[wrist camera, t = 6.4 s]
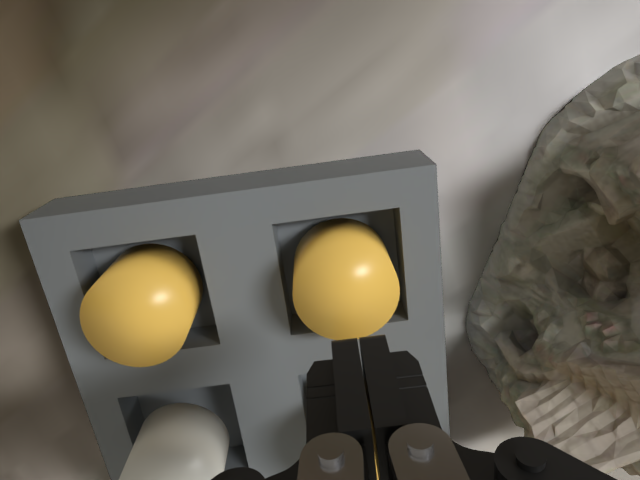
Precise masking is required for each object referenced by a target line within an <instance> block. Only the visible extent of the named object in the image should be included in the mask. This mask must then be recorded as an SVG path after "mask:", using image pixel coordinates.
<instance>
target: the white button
mask: <svg viewBox="0 0 640 480" xmlns="http://www.w3.org/2000/svg"><path fill="white" fill-rule="evenodd" d="M228 448H229V433H228V430H227V428H226V426H225V424H224V423H223V421H222V420H221V419H220V418H219V417H218V416H217V415H216V414H215V413H213V412H212V411H210V410H208V409H206V408H204V407H202V406H199V405H195V404H190V403H173V404H168V405H165V406H162V407H160V408H158V409H156V410H155V411H153V412H152V413H151V414H150V415H149V416H148V417H147V418H146V419H145V421H144V422H143V424H142V427H141V429H140V431H139V434H138V436H137V438H136V441H135V443H134V445H133V448H132V450H131V452H130V455H129V457H128V459H127V462H126V464H125V466H124V469H123V471H122V473H121V475H120V478H119V480H211V479H213V478H214V477H215V476H216V475H218V474H219V473H221V472H223V471H224V469H225V464H226V459H227V453H228Z"/></svg>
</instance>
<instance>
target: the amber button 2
mask: <svg viewBox="0 0 640 480" xmlns="http://www.w3.org/2000/svg"><path fill="white" fill-rule="evenodd" d="M292 295H293V303H294V307H295V310H296V312H297V314H298V316H299V318H300V319H301V320H302V322H303V323H304V324H305V325H306V326H307V327H308V328H309V329H311V330H312V331H313V332H315V333H317V334H318V335H320V336H323V337H325V338H329V339H333V340H342V339H351V338H357V339H359V337H366V336H369V335H371V334H373V333H374V332H376V331H378V330H379V329H380V328H382V327H383V326H384V325H385V324H386V323H387V322H388V321H389V319H390V318H391V317H392V315H393V314H394V312H395V310H396V307H397V305H398V301H399V295H400V286H399V280H398V277H397V274H396V271H395V269H394V267H393V264H392V262H391V259H390V257H389V255H388V252H387V250H386V247H385V245H384V243H383V241H382V239H381V238H380V236H379V235H378V234H377V233H376V232H375V231H374V230H373V229H372V228H371V227H369V226H368V225H366V224H365V223H362V222H360V221H357V220H354V219H349V218H335V219H330V220H326V221H323V222H321V223H319V224H317V225H316V226H314V227H312V228H311V229H310V230H309V231H308V232H307V233H306V234H305V235H304V236H303V237H302V239H301V240H300V242H299V244H298V246H297V248H296V251H295V256H294V272H293V294H292Z"/></svg>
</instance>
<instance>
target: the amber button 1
mask: <svg viewBox="0 0 640 480" xmlns="http://www.w3.org/2000/svg"><path fill="white" fill-rule="evenodd" d="M202 295H203V284H202V279H201V276H200V274H199V272H198V270H197V268H196V266H195V265H194V264H193V263H192V261H191V260H190V259H189V258H188V257H187V256H185V255H184V254H183V253H181V252H180V251H178V250H176V249H174V248H172V247H169V246H166V245H161V244H152V243H150V244H141V245H137V246H134V247H132V248H130V249H128V250H126V251H125V252H123V253H122V254H121V255H120V256H119V257H118V258H117V259H116V260H115V261H114V262H113V263H112V264H111V265H110V267H109V268H108V269H107V270H106V271H105V272H104V273H103V274H102V276H101V277H100V278H99V279H98V280H97V281H96V282H95V283H94V284H93V286H92V287H91V288H90V289H89V290H88V292H87V293H86V294H85V296H84V298H83V300H82V303H81V307H80V324H81V327H82V330H83V333H84V335H85V337H86V338H87V340H88V341H89V343H90V344H91V345H92V346H93V348H94V349H95V350H96V351H98V352H99V353H100V354H101V355H103V356H104V357H106V358H107V359H109V360H111V361H113V362H116V363H118V364H122V365H125V366H131V367H149V366H154V365H157V364H160V363H163V362H165V361H167V360H168V359H170V358H171V357H173V356H174V355H175V354H176V353H177V352H178V351H179V350H180V349H181V347H182V346H183V344H184V342H185V340H186V337H187V335H188V332H189V330H190V328H191V325H192V323H193V320H194V318H195V315H196V313H197V310H198V308H199V305H200V303H201V300H202Z"/></svg>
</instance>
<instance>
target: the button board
mask: <svg viewBox="0 0 640 480" xmlns="http://www.w3.org/2000/svg"><path fill="white" fill-rule="evenodd" d="M335 218H349V219H354V220H357V221H360V222H362V223H365V224H366V225H368V226H369V227H371V228H372V229H373V230H374V231H375V232H376V233H377V234H378V235H379V236H380V238H381V239H382V241H383V243H384V245H385V247H386V250H387V252H388V255H389V257H390V259H391V262H392V264H393V267H394V269H395V271H396V274H397V277H398V280H399V286H400V295H399V301H398V305H397V307H396V310H395V312H394V314H393V315H392V317H391V318H390V319H389V321H388V322H387V323H386V324H385V325H384V326H383V327H382V328H380V329H379V330H378V331H376V332H374V333H373V334H371V335H369V336H375V335H384V334H385V336H386V339H387V343H388V347H389V351H390V352H397V351H406V350H407V351H408V352H409V353H410V354H411V355H413V356H414V357H415V358H416V359H417V360H418V361H419V364H420V367H421V370H422V373H423V376H424V379H425V382H426V385H427V387H428V390H429V393H430V396H431V399H432V402H433V405H434V408H435V411H436V414H437V417H438V420H439V422H440V425H441V428H442V430H443V431H445V432H446V433H447V434H448V435H449V437H450V428H449V408H448V388H447V368H446V348H445V328H444V308H443V288H442V268H441V248H440V228H439V208H438V188H437V168H436V164H435V163H434V162H433V161H432V160H431V159H430V158H428V157H427V156H426V155H425V154H424V153H423V152H422V151H420V150H413V151H406V152H398V153H391V154H383V155H376V156H368V157H361V158H354V159H346V160H339V161H331V162H324V163H317V164H309V165H302V166H294V167H287V168H279V169H272V170H265V171H257V172H250V173H242V174H235V175H228V176H220V177H213V178H205V179H198V180H190V181H183V182H176V183H168V184H161V185H153V186H146V187H139V188H131V189H124V190H116V191H109V192H101V193H94V194H87V195H79V196H72V197H64V198H57V199H53V200H52V201H50V202H48V203H47V204H45V205H43V206H42V207H40V208H38V209H37V210H35V211H33V212H32V213H30V214H28V215H27V216H25V217H23V218H22V219H20V220H19V222H20V225H21V228H22V231H23V234H24V237H25V239H26V242H27V245H28V248H29V251H30V253H31V256H32V259H33V262H34V265H35V267H36V270H37V273H38V276H39V279H40V282H41V284H42V287H43V290H44V293H45V296H46V298H47V301H48V304H49V307H50V310H51V313H52V315H53V318H54V321H55V324H56V327H57V329H58V332H59V335H60V338H61V341H62V343H63V346H64V349H65V352H66V355H67V358H68V360H69V363H70V366H71V369H72V372H73V374H74V377H75V380H76V383H77V386H78V388H79V391H80V394H81V397H82V400H83V403H84V405H85V408H86V411H87V414H88V417H89V419H90V422H91V425H92V428H93V431H94V433H95V436H96V439H97V442H98V445H99V448H100V450H101V453H102V456H103V459H104V462H105V464H106V467H107V470H108V473H109V476H110V479H111V480H119V478H120V475H121V473H122V471H123V469H124V466H125V464H126V462H127V459H128V457H129V455H130V452H131V450H132V448H133V445H134V443H135V441H136V438H137V436H138V434H139V431H140V429H141V427H142V424H143V422H144V421H145V419H146V418H147V417H148V416H149V415H150V414H151V413H152V412H153V411H155V410H156V409H158V408H160V407H162V406H165V405H168V404H173V403H190V404H195V405H199V406H202V407H204V408H206V409H208V410H210V411H212V412H213V413H215V414H216V415H217V416H218V417H219V418H220V419H221V420H222V421H223V423H224V424H225V426H226V428H227V430H228V433H229V448H228V453H227V459H226V464H225V469H224V471H225V470H228V469H231V468H236V467H248V468H252V469H255V470H257V471H258V472H260V473H261V474H262V475H263V476H264V478H267V477H270V476H272V475H275V474H277V473H280V472H282V471H284V470H286V469H288V468H289V467H291V466H292V465H293V464H295V463H296V462H297V461H298V460H299V458H300V454H301V451H302V449H303V448H304V446H305V445H306V401H307V398H306V392H307V372H308V371H309V369H310V367H311V366H312V364H313V362H314V361H321V360H330V359H332V346H331V341H334V340H333V339H329V338H325V337H323V336H320V335H318V334H317V333H315V332H313V331H312V330H311V329H309V328H308V327H307V326H306V325H305V324H304V323H303V322H302V320H301V319H300V318H299V316H298V314H297V312H296V310H295V307H294V303H293V295H292V294H293V272H294V256H295V251H296V248H297V246H298V244H299V242H300V240H301V239H302V237H303V236H304V235H305V234H306V233H307V232H308V231H309V230H310V229H311V228H312V227H314V226H316V225H317V224H319V223H321V222H323V221H326V220H330V219H335ZM150 243H152V244H161V245H166V246H169V247H172V248H174V249H176V250H178V251H180V252H181V253H183V254H184V255H185V256H187V257H188V258H189V259H190V260H191V261H192V263H193V264H194V265H195V266H196V268H197V270H198V272H199V274H200V276H201V279H202V284H203V295H202V300H201V303H200V305H199V308H198V310H197V313H196V315H195V318H194V320H193V323H192V325H191V328H190V330H189V332H188V335H187V337H186V340H185V342H184V344H183V346H182V347H181V349H180V350H179V351H178V352H177V353H176V354H175V355H174V356H173V357H171V358H170V359H168V360H167V361H165V362H163V363H160V364H157V365H154V366H149V367H131V366H125V365H122V364H118V363H116V362H113V361H111V360H109V359H107V358H106V357H104V356H103V355H101V354H100V353H99V352H98V351H96V350H95V349H94V348H93V346H92V345H91V344H90V343H89V341H88V340H87V338H86V337H85V335H84V333H83V330H82V327H81V324H80V307H81V303H82V300H83V298H84V296H85V294H86V293H87V292H88V290H89V289H90V288H91V287H92V286H93V284H94V283H95V282H96V281H97V280H98V279H99V278H100V277H101V276H102V274H103V273H104V272H105V271H106V270H107V269H108V268H109V267H110V265H111V264H112V263H113V262H114V261H115V260H116V259H117V258H118V257H119V256H120V255H121V254H122V253H123V252H125V251H126V250H128V249H130V248H132V247H134V246H137V245H141V244H150ZM366 337H367V336H366ZM357 341H358V347H359V353H360V360H361V352H360V343H359V339H357ZM361 366H362V361H361ZM362 372H363V370H362Z"/></svg>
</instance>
